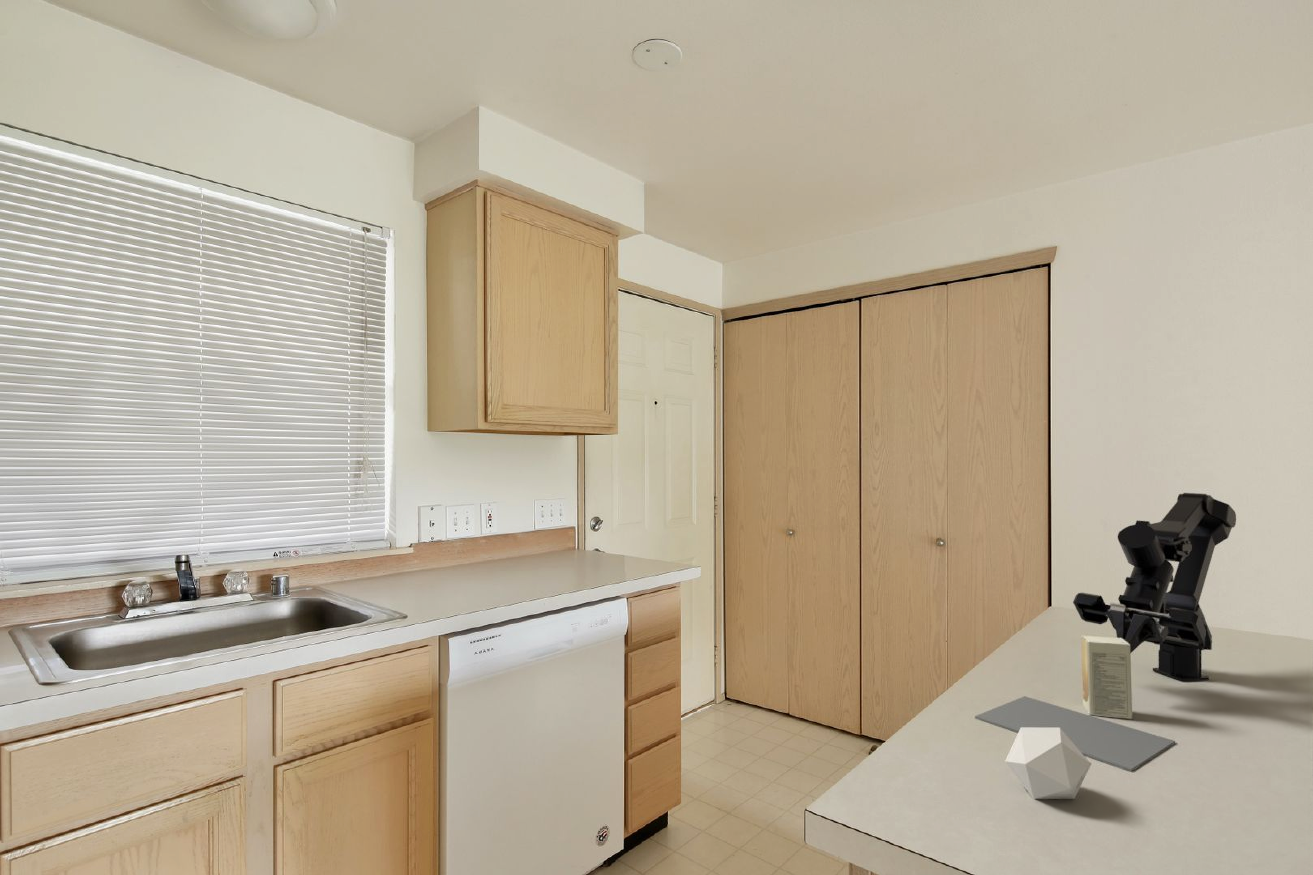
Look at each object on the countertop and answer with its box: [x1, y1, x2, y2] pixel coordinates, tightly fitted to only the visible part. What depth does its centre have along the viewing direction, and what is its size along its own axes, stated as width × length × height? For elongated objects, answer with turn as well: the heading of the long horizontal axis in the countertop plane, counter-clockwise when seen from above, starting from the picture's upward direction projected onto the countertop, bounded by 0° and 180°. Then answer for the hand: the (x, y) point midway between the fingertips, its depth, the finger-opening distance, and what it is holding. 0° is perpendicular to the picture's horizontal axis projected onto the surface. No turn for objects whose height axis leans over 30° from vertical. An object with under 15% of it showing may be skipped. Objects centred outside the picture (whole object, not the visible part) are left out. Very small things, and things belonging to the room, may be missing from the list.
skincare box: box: [1081, 635, 1133, 720], centre depth 113 cm, size 6×4×12 cm
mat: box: [974, 696, 1176, 772], centre depth 106 cm, size 16×22×1 cm
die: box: [1004, 727, 1092, 800], centre depth 86 cm, size 8×9×10 cm
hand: (1122, 655), depth 117 cm, fingers closed
